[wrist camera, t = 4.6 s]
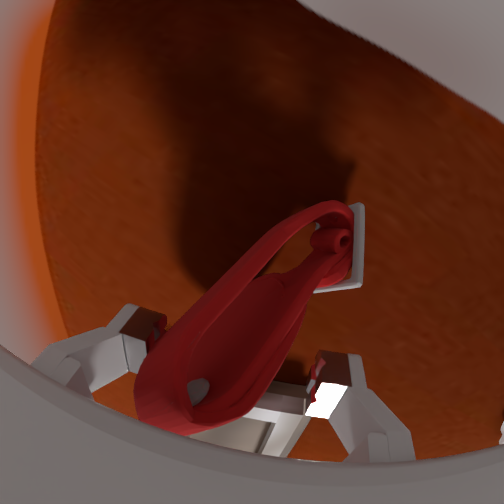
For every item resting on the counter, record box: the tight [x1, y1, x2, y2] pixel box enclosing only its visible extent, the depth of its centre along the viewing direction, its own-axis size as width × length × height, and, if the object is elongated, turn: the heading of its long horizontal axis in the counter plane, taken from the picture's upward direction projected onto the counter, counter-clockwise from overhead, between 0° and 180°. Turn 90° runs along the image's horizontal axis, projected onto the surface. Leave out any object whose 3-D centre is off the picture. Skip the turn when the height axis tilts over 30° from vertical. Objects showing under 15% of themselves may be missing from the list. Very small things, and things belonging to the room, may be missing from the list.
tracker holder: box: [134, 200, 365, 436], centre depth 11 cm, size 12×4×10 cm, turn 132°
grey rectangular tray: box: [186, 381, 312, 458], centre depth 22 cm, size 12×17×3 cm
